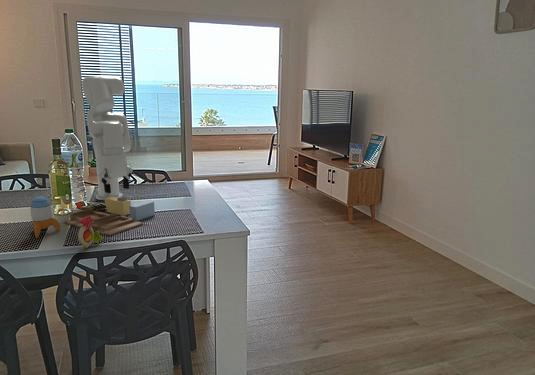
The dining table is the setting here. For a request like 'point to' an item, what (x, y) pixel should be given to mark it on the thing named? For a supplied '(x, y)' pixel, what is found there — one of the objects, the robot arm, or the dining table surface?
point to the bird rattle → (87, 233)
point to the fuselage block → (118, 205)
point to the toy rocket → (42, 215)
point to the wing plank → (142, 210)
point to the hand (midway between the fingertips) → (117, 190)
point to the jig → (104, 221)
